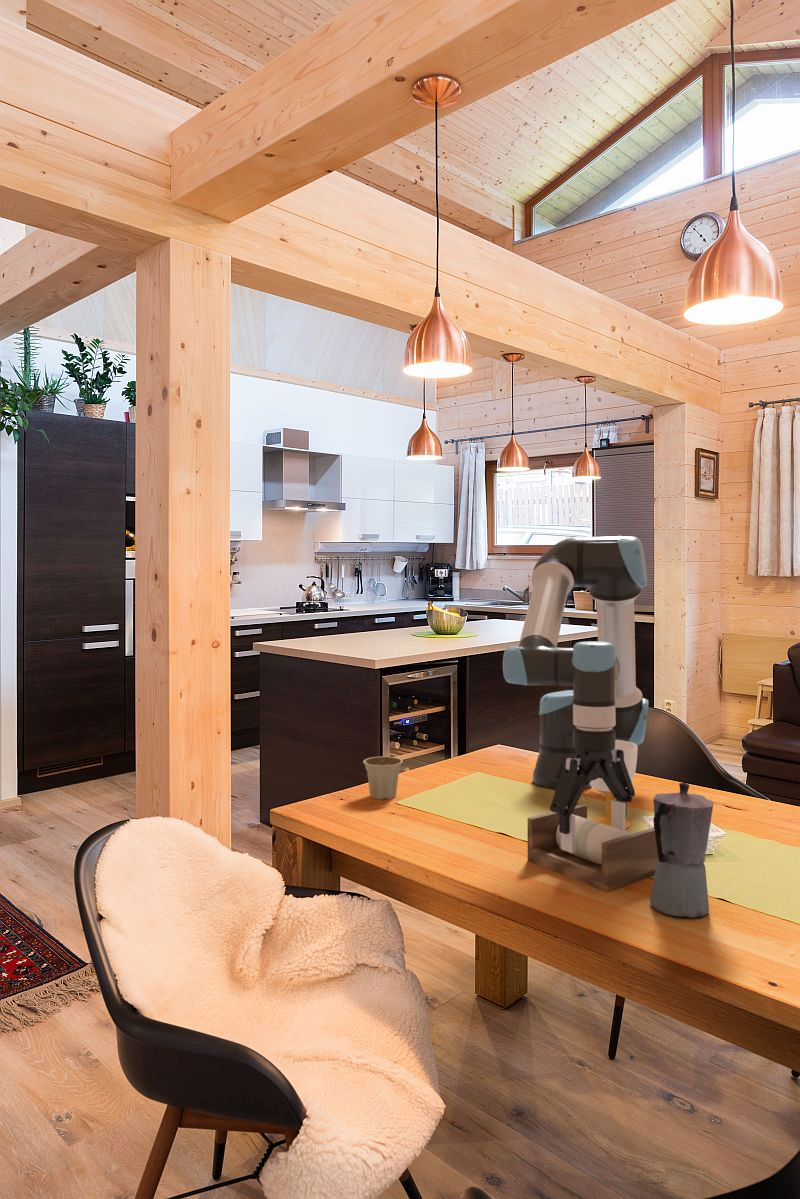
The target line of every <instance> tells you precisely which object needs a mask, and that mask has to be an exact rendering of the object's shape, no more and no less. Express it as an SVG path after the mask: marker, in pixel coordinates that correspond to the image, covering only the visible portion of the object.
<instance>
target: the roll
mask: <svg viewBox="0 0 800 1199" xmlns="http://www.w3.org/2000/svg"><path fill="white" fill-rule="evenodd" d="M571 815H573V814H571ZM574 816H575V853H570V852H568V851H565V850H562V849H561V832H560V831H559V825H558V828H557V832H556V841H557V844H558V847H559V848H560V849H561V850H562V851H564V852H567V853H570V854H572V855H575V856H578V857H580V858H582V859H585V860H588V861H591V862H593V863H597V864H600V865H602V842H606V841H609V840H613V839H616V838H619V837H623V836H626V835H630V834H631V833H629V832H628V831H627V830H626V831H624V830H621V829H618V828H614V827H611V826H608V825H605V824H603V823H599V822H596V821H593V820H589V819H590V818H587V819H586V818H583V817H579V816H576V815H574Z"/></svg>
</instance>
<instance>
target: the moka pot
mask: <svg viewBox="0 0 800 1199" xmlns="http://www.w3.org/2000/svg"><path fill="white" fill-rule="evenodd" d="M678 785H679V792H669V793H668V792H666V793H658V794H657V793H656V794H655V795H654V797H653V803H652V804H653V811H654V815H653V820H652V821H653V827H654V829H655V830H654V831H655V835H656V844H657V849H658V850H657V852H658V859H657V864H656V869H655V875H654V876H653V881H652V886H651V892H650V896H649V902H650V905H651V906H652V907H653V908H654V909H655V910H657V911H659V912H661V913H664V914H666V915H669V916H674V917H680V918H701V917H704V916H706V915H707V914H709V912H710V904H709V894H708V884H707V883H708V882H707V871H706V865H705V860H706V852H707V847H708V842H709V835H710V829H711V822H712V816H713V815H712V814H713V808H714V801H713V800H710V799H707V798H705V797H706V796H704V795H700V794H695V793H693V794H692V793H688V791H689V790H690V784H689V783H686V782H680V783H678Z"/></svg>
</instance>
